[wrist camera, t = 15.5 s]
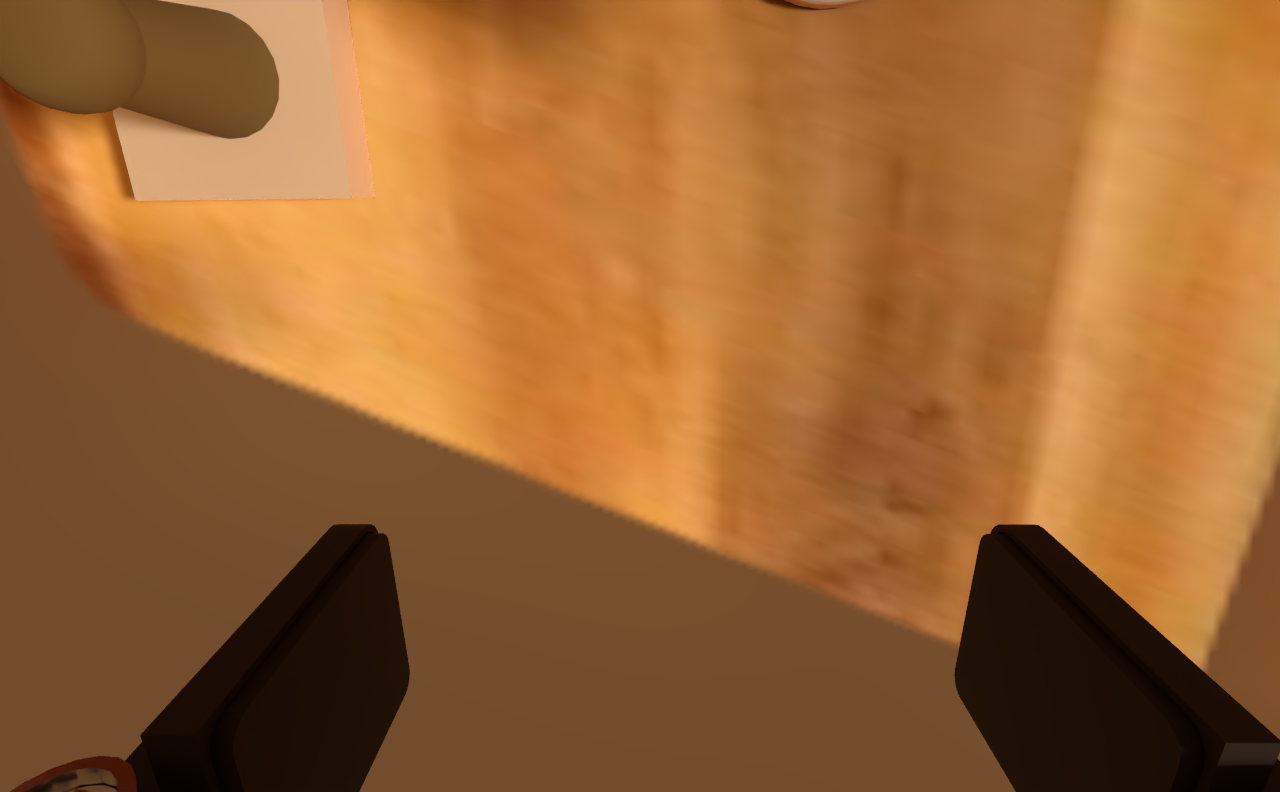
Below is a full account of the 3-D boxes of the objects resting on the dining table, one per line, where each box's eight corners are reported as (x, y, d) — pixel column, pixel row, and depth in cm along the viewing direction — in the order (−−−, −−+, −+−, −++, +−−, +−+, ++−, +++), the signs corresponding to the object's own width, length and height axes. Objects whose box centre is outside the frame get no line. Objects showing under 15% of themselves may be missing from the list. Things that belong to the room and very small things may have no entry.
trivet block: (117, -38, 33) (67, -58, 31) (341, -42, 33) (312, -62, 30) (174, 198, 37) (135, 200, 34) (374, 196, 37) (352, 198, 34)
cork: (247, -7, 31) (45, -100, 21) (299, 121, 33) (137, 95, 23) (138, 28, 32) (-111, -44, 21) (195, 152, 34) (-8, 141, 23)
